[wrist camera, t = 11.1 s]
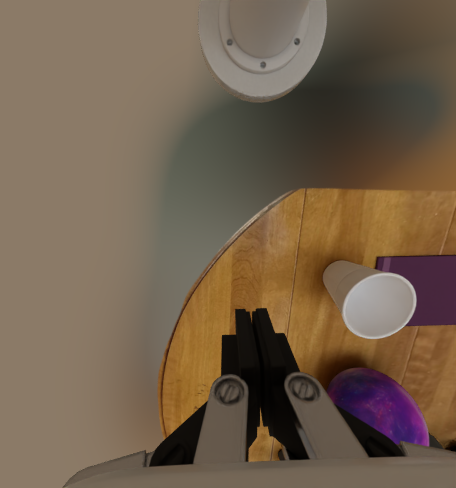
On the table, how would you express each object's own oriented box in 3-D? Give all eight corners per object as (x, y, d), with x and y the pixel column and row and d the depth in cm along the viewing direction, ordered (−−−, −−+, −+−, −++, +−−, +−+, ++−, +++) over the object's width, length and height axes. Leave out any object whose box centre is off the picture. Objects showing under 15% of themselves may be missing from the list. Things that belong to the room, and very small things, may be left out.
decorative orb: (330, 341, 44) (383, 418, 29) (397, 360, 45) (479, 443, 30) (301, 399, 47) (335, 493, 33) (364, 415, 48) (423, 512, 34)
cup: (351, 306, 42) (394, 347, 31) (302, 291, 41) (330, 328, 30) (375, 258, 39) (431, 285, 29) (325, 242, 38) (363, 263, 28)
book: (377, 256, 39) (379, 257, 39) (476, 254, 39) (480, 255, 39) (366, 325, 43) (368, 327, 42) (457, 323, 43) (461, 325, 42)
